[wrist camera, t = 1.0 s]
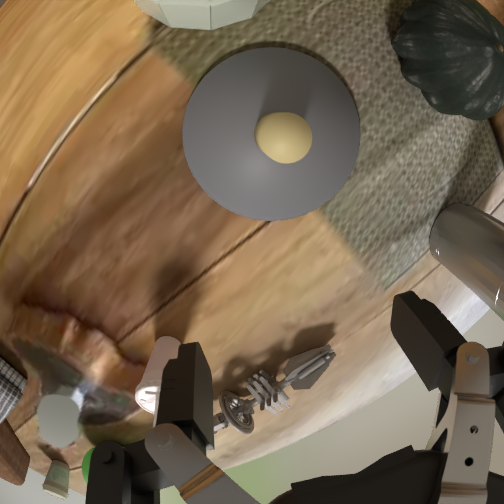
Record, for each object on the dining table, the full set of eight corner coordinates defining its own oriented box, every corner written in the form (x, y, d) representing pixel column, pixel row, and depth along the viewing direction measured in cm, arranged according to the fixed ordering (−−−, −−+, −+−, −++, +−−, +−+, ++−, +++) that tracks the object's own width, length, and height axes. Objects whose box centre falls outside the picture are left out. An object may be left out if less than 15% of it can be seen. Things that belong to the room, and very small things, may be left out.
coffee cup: (78, 469, 59) (72, 500, 48) (66, 470, 60) (60, 500, 49) (55, 456, 55) (47, 488, 44) (44, 458, 56) (37, 488, 45)
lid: (324, 33, 24) (346, 20, 19) (371, 185, 32) (396, 199, 27) (156, 87, 25) (144, 81, 20) (224, 240, 33) (226, 265, 28)
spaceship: (137, 450, 38) (171, 478, 38) (322, 340, 35) (354, 380, 36) (151, 424, 46) (181, 451, 46) (312, 320, 43) (340, 356, 43)
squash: (512, 66, 20) (539, 7, 7) (482, 155, 26) (517, 125, 13) (420, 18, 25) (406, -52, 13) (385, 99, 31) (360, 44, 19)
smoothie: (166, 320, 36) (153, 411, 24) (201, 347, 39) (202, 435, 26) (136, 343, 37) (118, 428, 25) (170, 367, 40) (164, 450, 28)
